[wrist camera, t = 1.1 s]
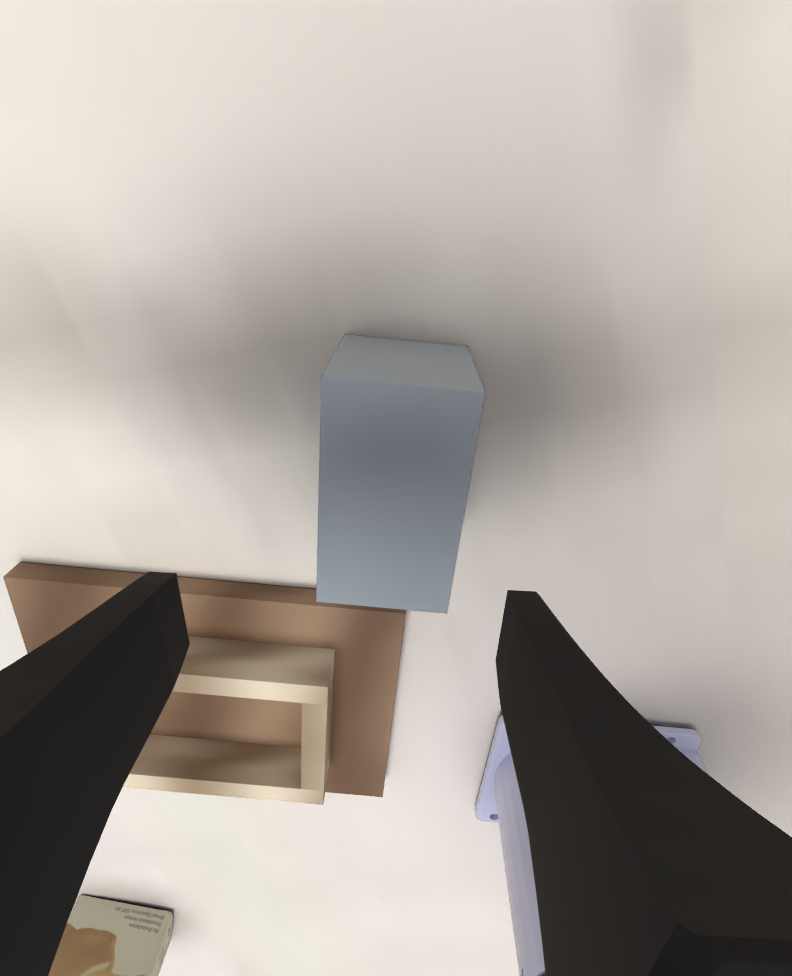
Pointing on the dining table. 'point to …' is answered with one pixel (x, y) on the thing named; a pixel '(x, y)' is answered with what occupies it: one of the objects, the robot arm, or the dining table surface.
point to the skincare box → (112, 940)
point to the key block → (394, 471)
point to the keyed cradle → (249, 684)
